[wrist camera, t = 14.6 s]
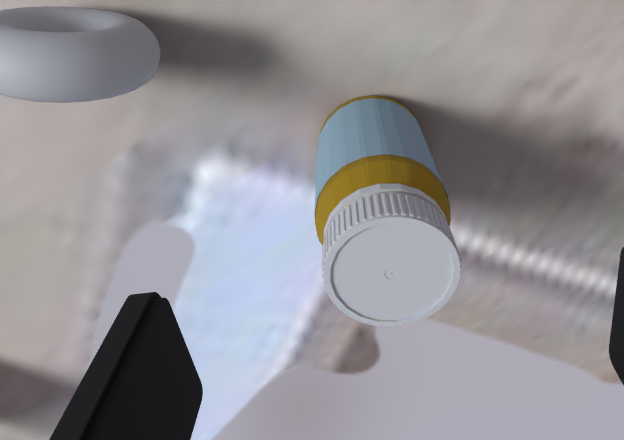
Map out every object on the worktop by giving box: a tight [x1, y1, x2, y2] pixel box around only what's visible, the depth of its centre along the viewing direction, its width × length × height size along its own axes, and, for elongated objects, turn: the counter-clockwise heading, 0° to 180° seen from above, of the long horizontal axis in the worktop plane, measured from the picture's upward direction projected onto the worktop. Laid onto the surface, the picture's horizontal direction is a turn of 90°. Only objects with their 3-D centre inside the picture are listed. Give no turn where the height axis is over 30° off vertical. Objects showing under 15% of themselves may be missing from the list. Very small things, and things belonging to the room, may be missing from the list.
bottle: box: [315, 95, 461, 327], centre depth 31 cm, size 7×7×15 cm
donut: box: [0, 7, 161, 103], centre depth 29 cm, size 10×4×10 cm, turn 85°
